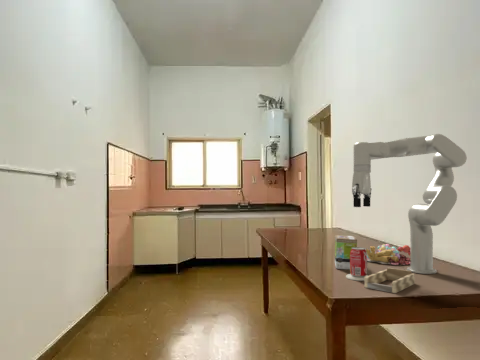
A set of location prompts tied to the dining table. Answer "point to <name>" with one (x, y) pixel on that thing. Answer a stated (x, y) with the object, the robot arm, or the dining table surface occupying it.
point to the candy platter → (388, 255)
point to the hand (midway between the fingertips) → (362, 206)
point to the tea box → (343, 250)
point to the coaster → (355, 277)
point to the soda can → (358, 262)
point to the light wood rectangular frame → (398, 277)
